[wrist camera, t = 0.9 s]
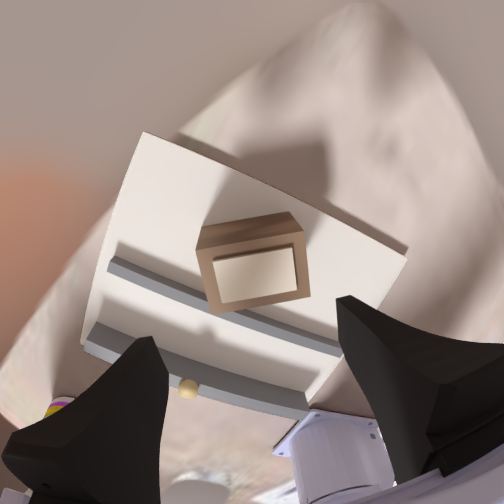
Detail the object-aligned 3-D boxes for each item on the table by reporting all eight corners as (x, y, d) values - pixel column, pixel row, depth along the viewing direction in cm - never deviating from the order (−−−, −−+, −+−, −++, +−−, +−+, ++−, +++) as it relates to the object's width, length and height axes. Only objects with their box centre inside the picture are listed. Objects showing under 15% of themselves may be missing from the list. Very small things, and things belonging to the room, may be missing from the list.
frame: (288, 211, 20) (305, 232, 16) (295, 266, 21) (311, 298, 17) (201, 226, 20) (194, 251, 16) (213, 281, 21) (211, 316, 17)
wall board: (404, 255, 22) (428, 275, 19) (295, 410, 27) (302, 439, 24) (145, 131, 18) (128, 131, 15) (81, 339, 23) (66, 366, 19)
